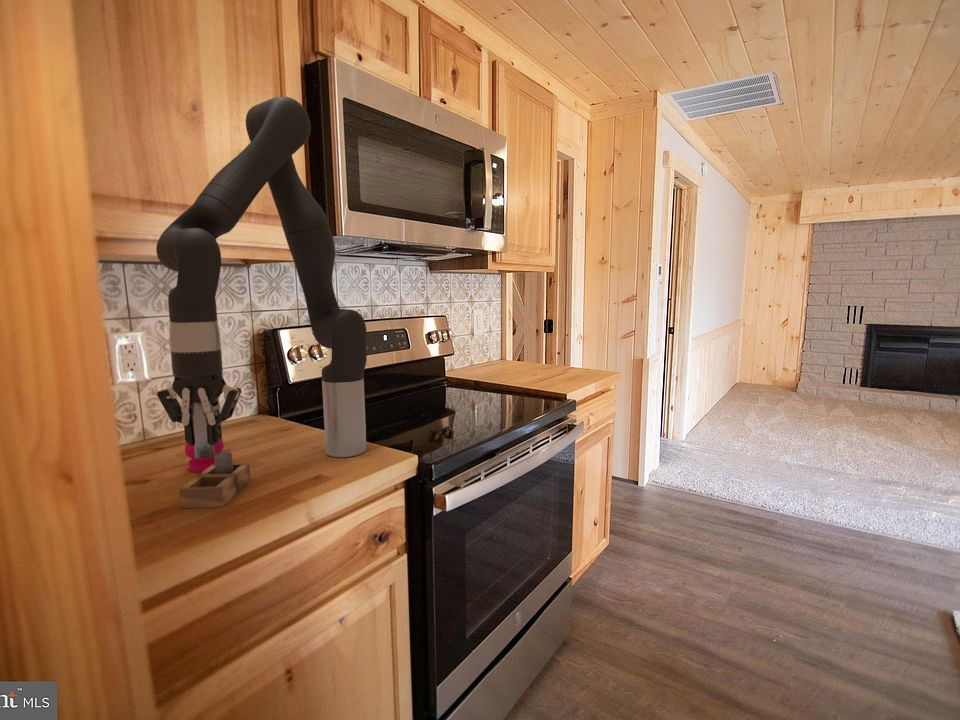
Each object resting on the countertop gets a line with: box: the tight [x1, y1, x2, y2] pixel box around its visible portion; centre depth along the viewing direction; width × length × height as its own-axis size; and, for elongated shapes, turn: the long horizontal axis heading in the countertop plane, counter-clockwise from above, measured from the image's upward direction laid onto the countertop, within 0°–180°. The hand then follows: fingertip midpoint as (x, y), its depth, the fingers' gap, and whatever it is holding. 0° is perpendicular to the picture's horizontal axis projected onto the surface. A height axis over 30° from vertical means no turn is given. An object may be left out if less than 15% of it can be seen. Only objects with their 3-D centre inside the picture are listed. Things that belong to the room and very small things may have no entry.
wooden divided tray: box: [178, 451, 252, 509], centre depth 89 cm, size 12×7×6 cm, turn 3°
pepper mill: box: [184, 438, 225, 473], centre depth 102 cm, size 7×7×20 cm
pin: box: [191, 402, 215, 459], centre depth 85 cm, size 3×3×10 cm
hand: (204, 443), depth 85 cm, fingers closed on pin, 3 cm apart
